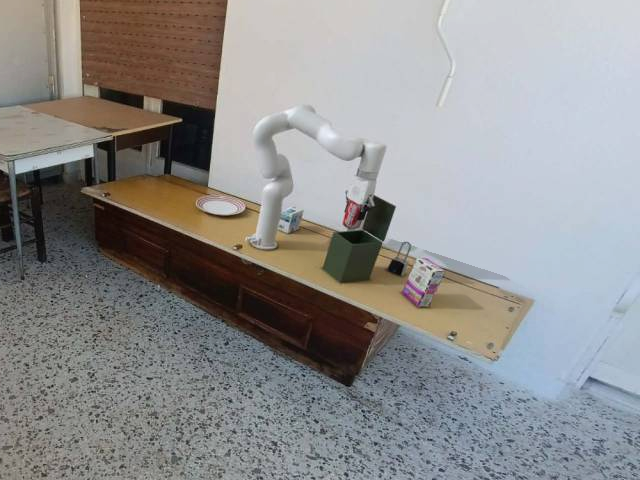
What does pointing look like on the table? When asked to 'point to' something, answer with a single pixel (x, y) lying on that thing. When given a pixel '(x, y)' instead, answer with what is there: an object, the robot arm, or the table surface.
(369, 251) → the bin
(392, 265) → the padlock
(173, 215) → the table surface
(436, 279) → the candy bar box
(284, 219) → the light bulb box
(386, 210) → the bin lid
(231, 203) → the dinner plate
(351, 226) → the soda can
